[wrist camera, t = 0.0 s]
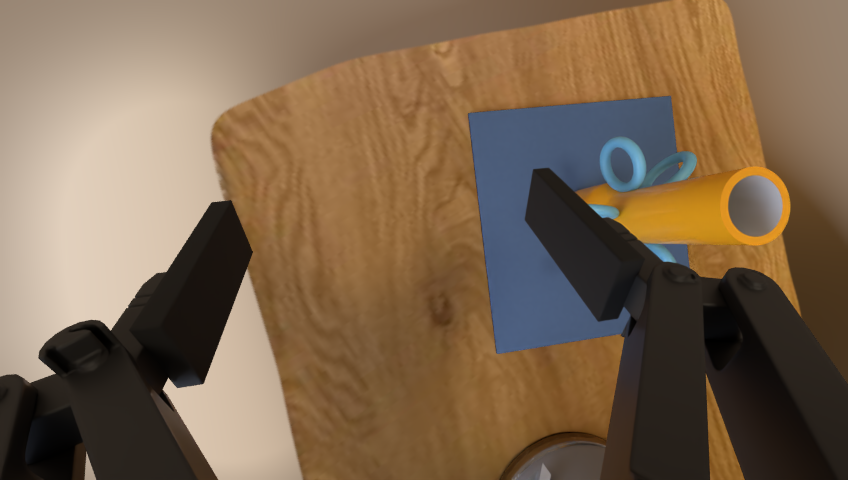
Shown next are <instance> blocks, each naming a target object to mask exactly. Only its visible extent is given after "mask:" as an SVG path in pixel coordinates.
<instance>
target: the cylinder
mask: <svg viewBox="0 0 848 480" xmlns="http://www.w3.org/2000/svg"><path fill="white" fill-rule="evenodd" d="M615 148H622V149H624V150H625V151H626V152H627V153H628V155H629V156H630V158H631V160H632V163H633V176H632V179H631V180H630V181H629V182H627V183H625V182H622V181H620V180H619V179H618V178H617V177H616V176H615V174H614V172H613V170H612V167H611V154H612V152H613V150H614V149H615ZM680 162H683V165H682V166H681V168H680V169H679V171H678V172H677V173H676V174H675V175H674V176H673V177H671V178H670V179H669V180H668V181H666V182H665V183H663V184H661V185H656V186H651V185H652V183H653V182H654V181H655V179H656V178H657V177H658V176H659V175H660V174H661V173H662V172H664V171H665V170H666V169H668V168H669V167H671V166H673V165H675V164H677V163H680ZM696 163H697V158H696V156H695V154H693V153H692V152H689V151H682V152H678V153H675V154H673V155H670V156H668V157H667V158H665V159H663V160H662V161H660V162H659V163H658V164H656V165H655V166H654V167H653V168H652V169H651V170H650V171H649V172H648V173H647V174H646V161H645V158H644V155H643V153H642V151H641V149H640V148H639V146H638V145H637V144H636V143H635V142H634V141H632V140H631V139H629V138H626V137H614V138H612V139H610V140H609V141H607V142H606V143H605V145H604V146H603V148H602V150H601V153H600V169H601V172H602V175H603V177H604V179H605V181H606V182H607V183H605V184H600V185H597V186H593V187H589V188H585V189H581V190H578V191H576V192H575V193H576V194H577V195H579V196H580V197H581V198H582V199H583V200H584V201H585V202H586V203H587V204H588V205H589V206H590V207H591V208H592V209H593V210H594V211H595V212H597V213H598V214H599V215H600V216H601V217H602V218H605V217H609V218H611V219H613V220H615V221H617V222H619V223H621V224H622V225H623V226H624V227H626V228H627V229H628V230H629V231H630V233H632V234H633V235H634V236H636V237H637V240H640V241H641V242H642V243H643V244H644V245H646V246H647V247H648V248H649V249H650V250H651V251H652V252H653V253H654V254H656V255H657V256H658V257H659V258H660V259H661V260H662V261H663V262H674V263H677V262H676V260H675V258H674V257H673V255H672V254H671V253H670V252H669V251H668V250H667V249H666V248H665V247H664V246H663V245H661V244H703V245H763V244H766V243H769V242H771V241H772V240H774V239H775V238H776V237H778V236H779V235H780V233H781V232H782V231H783V229H784V228H785V226H786V224H787V221H788V218H789V214H790V199H789V194H788V191H787V189H786V187H785V185H784V183H783V182H782V180H781V179H780V178H779V177H778V176H777V175H776V174H774V173H773V172H772V171H770V170H768V169H766V168H762V167H748V168H742V169H737V170H732V171H727V172H722V173H717V174H712V175H707V176H702V177H697V178H692V179H687V178H688V177H689V176H690V175H691V173H692V172H693V170H694V169H695V167H696ZM638 188H639V189H638Z"/></svg>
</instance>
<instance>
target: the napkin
mask: <svg viewBox="0 0 848 480" xmlns="http://www.w3.org/2000/svg"><path fill="white" fill-rule="evenodd" d="M468 117H469V125H470V133H471V142H472V150H473V159H474V167H475V176H476V184H477V193H478V201H479V209H480V218H481V226H482V235H483V243H484V252H485V260H486V268H487V277H488V285H489V294H490V302H491V311H492V319H493V327H494V336H495V344H496V353H497V354H500V353H506V352H512V351H519V350H525V349H531V348H537V347H543V346H549V345H555V344H561V343H568V342H574V341H580V340H586V339H592V338H598V337H604V336H610V335H617V334H622V332H623V330H624V328H625V326H626V324H627V322H628V320H629V317H630V315H631V314H630V313H629V312H628V311H627V310H626V308H625V307H623V309H622V312H621V314H620V316H619V318H618V319H613V320H607V321H600V322H598V321H597V320H596V318H595V317H594V316H593V314H592V313H591V311H590V310H589V309H588V307H587V306H586V304H585V303H584V302H583V300H582V299H581V297H580V296H579V295H578V293H577V292H576V291H575V289H574V288H573V286H572V285H571V284H570V282H569V281H568V279H567V278H566V277H565V275H564V274H563V273H562V271H561V270H560V268H559V267H558V266H557V264H556V263H555V261H554V260H553V259H552V257H551V256H550V254H549V253H548V252H547V250H546V249H545V248H544V246H543V245H542V243H541V242H540V241H539V239H538V238H537V236H536V235H535V234H534V232H533V231H532V229H531V228H530V227H529V225H528V224H527V223H526V221H525V214H526V208H527V202H528V196H529V190H530V184H531V178H532V172H533V169H539V168H550V169H551V170H552V171H553V172H554V173H555V174H556V175H557V176H558V177H560V178H561V179H562V180H563V181H564V182H565V183H566V184H567V185H568V186H569V187H570V188H571V189H572V190H573V191H574V192H576V191H578V190H581V189H585V188H589V187H593V186H597V185H600V184H605V183H607V182H606V181H605V179H604V177H603V175H602V172H601V169H600V153H601V150H602V148H603V146H604V145H605V143H606V142H607V141H609V140H610V139H612V138H614V137H626V138H629V139H631V140H632V141H634V142H635V143H636V144H637V145H638V146H639V148H640V149H641V151H642V153H643V155H644V158H645V161H646V174H647V173H648V172H649V171H650V170H651V169H652V168H653V167H654V166H655V165H656V164H658V163H659V162H660V161H662V160H663V159H665V158H667V157H668V156H670V155H673V154H675V153H677V148H676V139H675V130H674V121H673V112H672V102H671V96H664V97H652V98H641V99H629V100H617V101H605V102H593V103H581V104H570V105H558V106H546V107H534V108H522V109H510V110H499V111H487V112H475V113H469V114H468ZM611 167H612V170H613V172H614V174H615V176H616V177H617V178H618V179H619V180H620V181H622V182H625V183H627V182H629V181H630V180H631V179H632V176H633V163H632V160H631V158H630V156H629V155H628V153H627V152H626V151H625V150H624V149H622V148H615V149H614V150H613V152H612V154H611ZM678 171H679V167H678V163H677V164H675V165H673V166H671V167H669V168H668V169H666V170H665V171H664V172H662V173H661V174H660V175H659V176H658V177H657V178H656V179H655V181H654V182H653V183H652V185H651V186H656V185H661V184H663V183H665V182H666V181H668V180H669V179H670V178H671V177H673V176H674V175H675V174H676V173H677V172H678ZM638 189H639V188H638ZM661 245H663V246H664V247H665V248H666V249H667V250H668V251H669V252H670V253H671V254H672V255H673V257H674V258H675V260H676V262H677V263H679V264H681V265H684V266H687V267H688V268H689V259H688V250H687V244H661Z"/></svg>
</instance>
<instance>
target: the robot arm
mask: <svg viewBox="0 0 848 480" xmlns="http://www.w3.org/2000/svg"><path fill="white" fill-rule="evenodd" d="M525 221H526V223H527V224H528V225H529V227H530V228H531V229H532V231H533V232H534V234H535V235H536V236H537V238H538V239H539V241H540V242H541V243H542V245H543V246H544V248H545V249H546V250H547V252H548V253H549V254H550V256H551V257H552V259H553V260H554V261H555V263H556V264H557V266H558V267H559V268H560V270H561V271H562V273H563V274H564V275H565V277H566V278H567V279H568V281H569V282H570V284H571V285H572V286H573V288H574V289H575V291H576V292H577V293H578V295H579V296H580V297H581V299H582V300H583V302H584V303H585V304H586V306H587V307H588V309H589V310H590V311H591V313H592V314H593V316H594V317H595V318H596V320H597V321H598V322H600V321H607V320H613V319H618V318H619V316H620V314H621V312H622V309H623V307H625V308H626V310H627V311H628V312H629V313H630V314H631V315H630V317H629V320H628V322H627V324H626V326H625V328H624V330H623V332H622V334H621V336H622V337H625V339H624V344H623V350H622V356H621V361H620V367H619V373H618V379H617V384H616V390H615V396H614V401H613V407H612V413H611V419H610V424H609V430H608V436H607V441H605V440H604V439H601V438H599V437H596V436H593V435H589V434H583V433H564V434H558V435H554V436H551V437H548V438H545V439H543V440H541V441H539V442H537V443H535V444H533V445H531V446H530V447H529V448H527V449H526V450H524V451H523V452H522V453H521V454H520V455H519V456H517V458H516V459H515V460H514V461H513V462H512V463H511V464H510V465H509V467H508V468H507V469H506V471H505V472H504V474H503V475H502V477H501V479H500V480H710V469H709V444H708V420H707V395H706V374H707V377H708V380H709V383H710V385H711V388H712V391H713V393H714V396H715V399H716V402H717V404H718V407H719V410H720V413H721V415H722V418H723V421H724V424H725V426H726V429H727V432H728V434H729V437H730V440H731V443H732V445H733V448H734V451H735V454H736V456H737V459H738V462H739V464H740V467H741V470H742V473H743V475H744V478H745V480H848V384H847V382H846V381H845V379H844V378H843V377H842V375H841V374H840V372H839V371H838V369H837V368H836V367H835V365H834V364H833V362H832V361H831V360H830V358H829V357H828V355H827V354H826V352H825V351H824V350H823V348H822V347H821V346H820V344H819V342H818V341H817V340H816V338H815V337H814V335H813V334H812V332H811V331H810V330H809V328H808V327H807V325H806V324H805V322H804V321H803V320H802V318H801V317H800V315H799V314H798V313H797V311H796V310H795V308H794V307H793V305H792V304H791V303H790V301H789V300H788V298H787V297H786V295H785V294H784V293H783V291H782V290H781V288H780V287H779V286H778V285H777V284H776V283H775V282H774V281H773V280H772V279H771V278H769V277H767V276H766V275H764V274H763V273H760V272H758V271H755V270H751V269H747V268H736V267H735V268H731V269H729V270H728V271H727V272H726V274H725V275H724V277H723V278H722V279H716V278H706V277H700V276H699V275H698V274H697V273H696V272H695V271H693V270H692V269H690V268H688V267H687V266H684V265H681V264H679V263H674V262H663V261H662V260H661V259H660V258H659V257H658V256H657V255H656V254H654V253H653V252H652V251H651V250H650V249H649V248H648V247H647V246H646V245H644V244H643V243H642V242H641V241H640V240H637V237H636V236H634V235H633V234H632V233H630V231H629V230H628V229H627V228H626V227H624V226H623V225H622V224H621V223H619V222H617V221H615V220H613V219H611V218H609V217H605V218H602V217H601V216H600V215H599V214H598V213H597V212H595V211H594V210H593V209H592V208H591V207H590V206H589V205H588V204H587V203H586V202H585V201H584V200H583V199H582V198H581V197H580V196H579V195H577V194H576V193H575V192H574V191H573V190H572V189H571V188H570V187H569V186H568V185H567V184H566V183H565V182H564V181H563V180H562V179H561V178H560V177H558V176H557V175H556V174H555V173H554V172H553V171H552V170H551V169H550V168H539V169H533V172H532V178H531V184H530V190H529V196H528V202H527V208H526V214H525ZM252 253H253V251H252V249H251V247H250V244H249V242H248V239H247V237H246V235H245V232H244V230H243V227H242V225H241V223H240V220H239V218H238V216H237V213H236V211H235V208H234V206H233V204H232V201H231V200H230V201H221V202H212V203H211V204H210V206H209V207H208V209H207V211H206V212H205V214H204V215H203V217H202V218H201V220H200V221H199V223H198V224H197V226H196V227H195V229H194V231H193V232H192V234H191V235H190V237H189V238H188V240H187V241H186V243H185V244H184V246H183V247H182V249H181V251H180V252H179V254H178V255H177V257H176V258H175V260H174V261H173V263H172V264H171V266H170V268H169V269H168V271H167V272H164V273H157V274H156V275H154V276H153V277H152V278H151V279H149V280H148V281H147V282H146V283H144V284H143V285H142V287H141V288H140V290H139V291H138V293H137V294H136V296H135V298H134V299H133V300H132V301H131V303H130V304H129V305H128V308H126V310H125V311H124V313H123V314H122V315H121V317H120V318H119V320H118V321H117V323H116V324H115V325H114V327H113V328H112V330H111V331H110V330H109V329H108V327H107V326H106V325H105V324H104V323H102V322H101V321H98V320H88V321H84V322H79V323H77V324H74V325H72V326H69V327H67V328H65V329H64V330H62V331H60V332H59V333H57V334H55V335H54V336H53V337H52V338H50V339H49V340H48V341H47V342H46V343H45V344H44V346H43V347H42V348H41V350H40V351H39V359H40V360H41V361H42V362H43V363H44V364H46V365H47V366H48V367H49V368H50V369H51V370H53V371H54V372H55V373H56V374H54V375H51V376H48V377H45V378H43V379H40V380H37V381H34V382H32V383H29V382H27V381H26V380H25V379H24V378H22V377H20V376H19V375H16V374H14V375H5V376H1V377H0V480H84V477H85V463H86V451H87V454H88V457H89V460H90V463H91V466H92V468H93V471H94V474H95V477H96V480H218V479H217V477H216V476H215V474H214V472H213V470H212V469H211V467H210V465H209V464H208V462H207V460H206V459H205V457H204V455H203V454H202V452H201V450H200V449H199V447H198V445H197V444H196V442H195V440H194V439H193V437H192V435H191V434H190V432H189V430H188V429H187V427H186V425H185V424H184V422H183V420H182V419H181V417H180V415H179V414H178V412H177V410H176V409H175V407H174V405H173V404H172V402H171V400H170V399H169V397H168V396H167V394H166V393H165V392H164V391H163V387H164V385H165V383H166V381H167V379H168V378H169V379H170V380H171V381H172V382H173V384H174V385H175V386H176V387H177V388H181V387H187V386H194V385H200V384H203V383H204V381H205V378H206V376H207V373H208V371H209V368H210V365H211V363H212V360H213V357H214V355H215V352H216V349H217V347H218V344H219V341H220V339H221V336H222V333H223V331H224V328H225V325H226V322H227V320H228V317H229V314H230V312H231V309H232V306H233V304H234V301H235V299H236V296H237V293H238V291H239V288H240V285H241V283H242V280H243V277H244V275H245V272H246V269H247V267H248V264H249V261H250V259H251V256H252Z"/></svg>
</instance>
